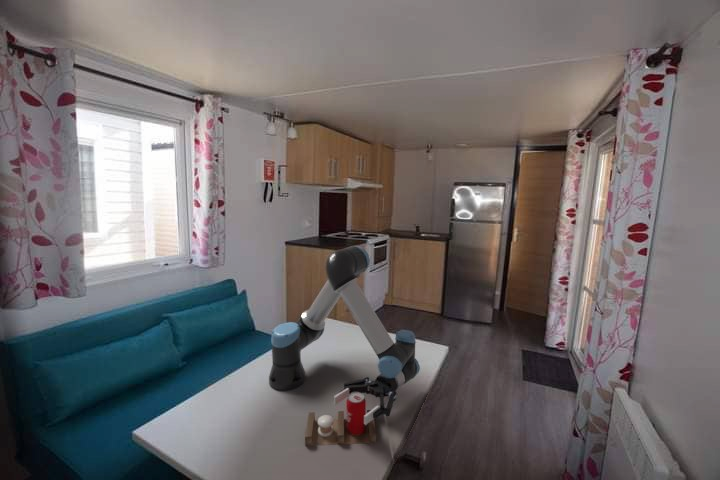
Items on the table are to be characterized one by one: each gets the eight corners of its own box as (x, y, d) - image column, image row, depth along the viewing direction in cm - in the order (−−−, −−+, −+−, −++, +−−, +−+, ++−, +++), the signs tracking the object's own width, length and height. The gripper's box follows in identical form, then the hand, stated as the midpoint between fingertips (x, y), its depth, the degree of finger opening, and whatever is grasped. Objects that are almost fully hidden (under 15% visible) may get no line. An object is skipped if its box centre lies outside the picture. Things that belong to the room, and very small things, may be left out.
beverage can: (355, 420, 107) (354, 388, 105) (369, 428, 103) (369, 395, 101) (342, 430, 102) (342, 397, 100) (357, 440, 98) (357, 405, 96)
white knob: (317, 437, 99) (317, 426, 99) (318, 426, 104) (318, 415, 104) (333, 437, 99) (332, 425, 99) (333, 425, 104) (333, 414, 104)
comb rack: (305, 448, 96) (304, 436, 96) (309, 423, 107) (308, 412, 106) (376, 445, 97) (376, 433, 97) (372, 420, 108) (372, 409, 108)
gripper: (418, 406, 106) (379, 441, 91) (364, 377, 123) (323, 403, 108) (419, 385, 105) (379, 417, 90) (364, 359, 122) (323, 383, 107)
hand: (348, 410), depth 99 cm, fingers open, 13 cm apart
